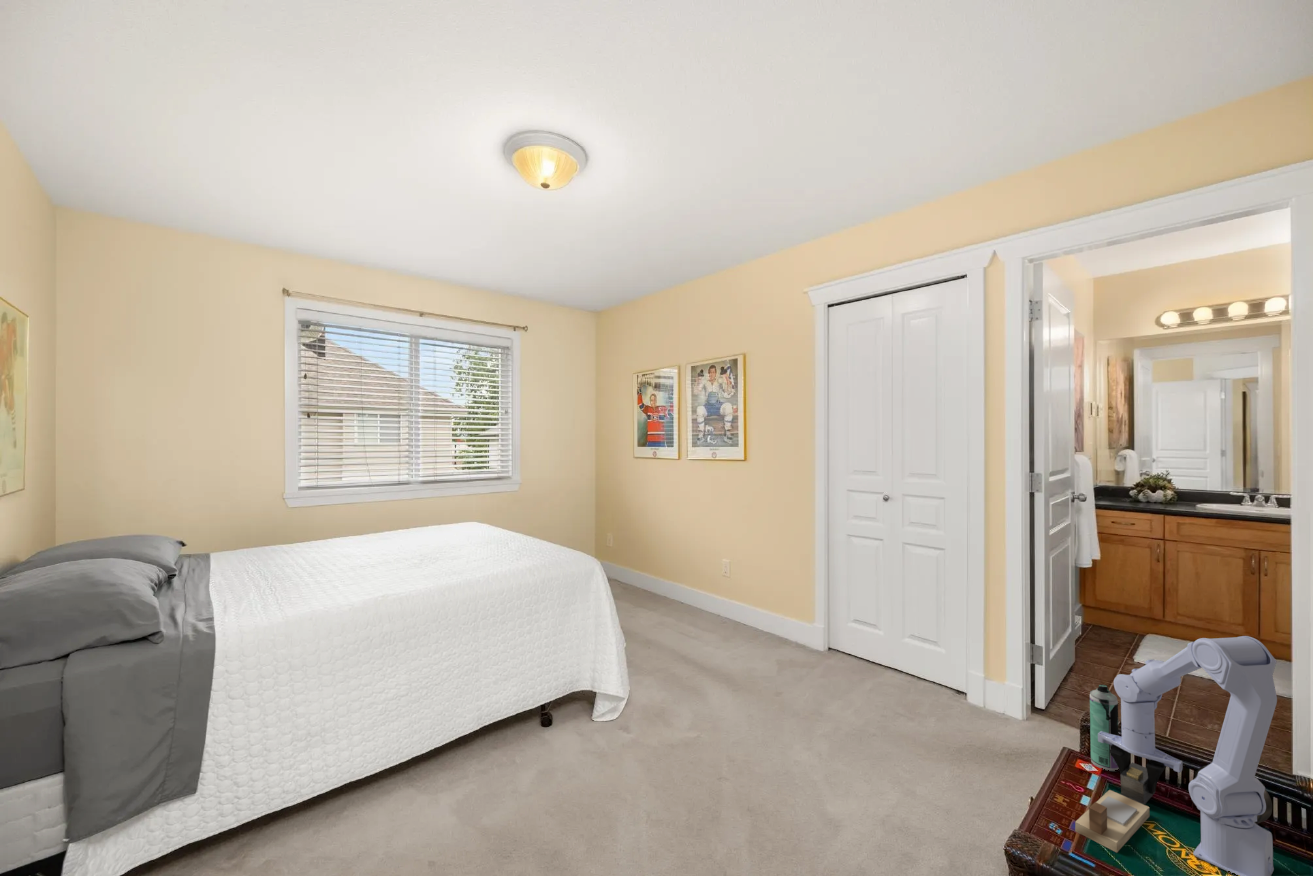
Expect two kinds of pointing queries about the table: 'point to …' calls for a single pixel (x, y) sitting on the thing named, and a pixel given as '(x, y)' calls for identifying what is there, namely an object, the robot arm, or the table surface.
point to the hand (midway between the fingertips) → (1138, 786)
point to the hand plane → (1112, 820)
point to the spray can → (1103, 726)
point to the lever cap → (1135, 783)
